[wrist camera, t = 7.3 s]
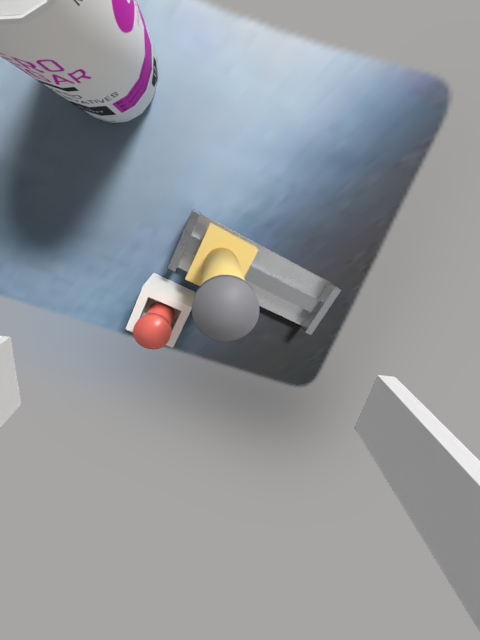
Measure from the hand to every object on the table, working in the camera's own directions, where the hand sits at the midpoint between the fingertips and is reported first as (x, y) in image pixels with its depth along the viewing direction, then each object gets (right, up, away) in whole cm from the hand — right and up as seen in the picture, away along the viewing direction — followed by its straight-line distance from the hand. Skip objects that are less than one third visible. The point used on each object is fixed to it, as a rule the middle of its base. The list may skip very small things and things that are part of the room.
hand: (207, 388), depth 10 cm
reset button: (-7, +3, +19) cm, 20 cm away
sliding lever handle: (-1, +9, +19) cm, 21 cm away
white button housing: (-7, +5, +22) cm, 23 cm away
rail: (+3, +8, +21) cm, 23 cm away
